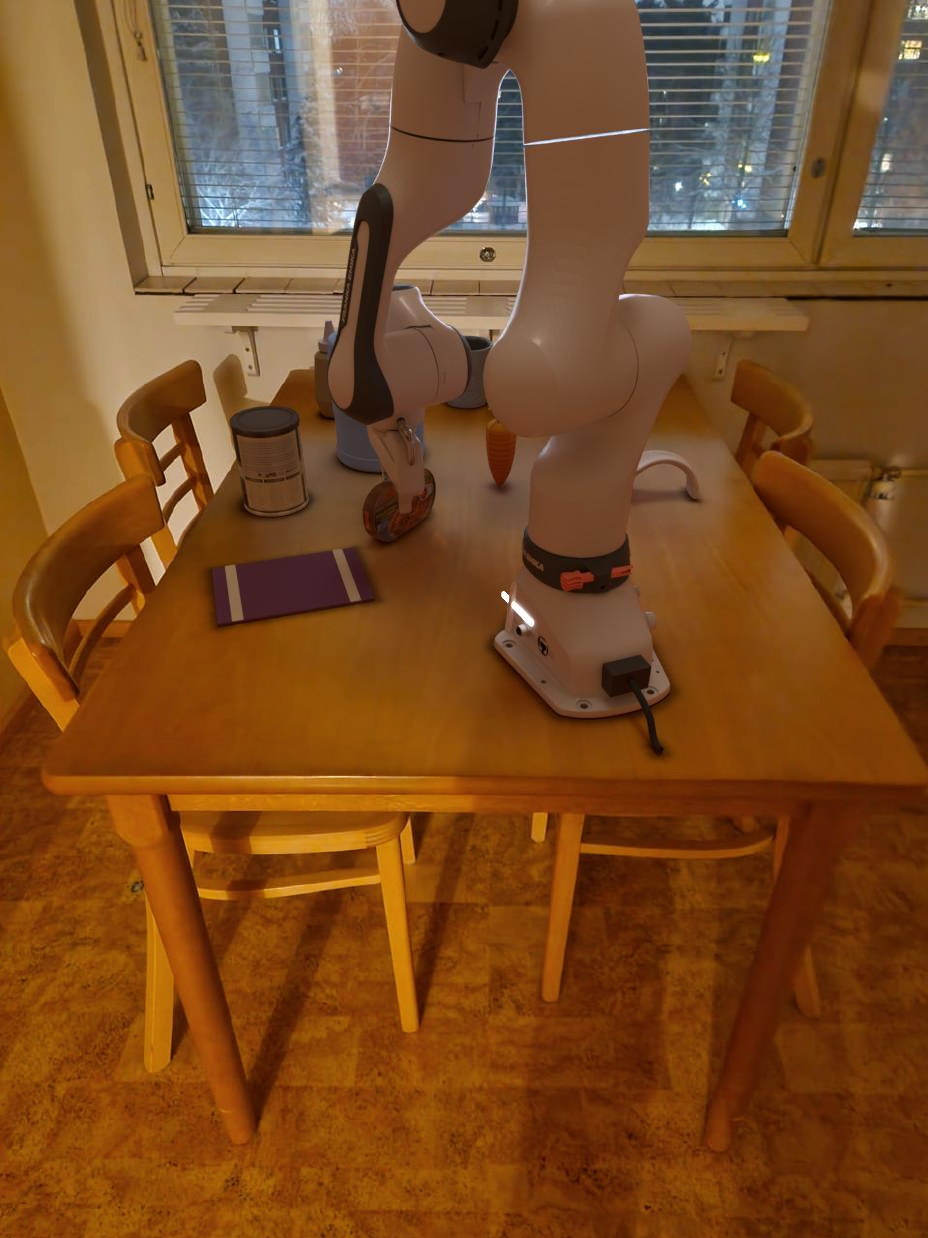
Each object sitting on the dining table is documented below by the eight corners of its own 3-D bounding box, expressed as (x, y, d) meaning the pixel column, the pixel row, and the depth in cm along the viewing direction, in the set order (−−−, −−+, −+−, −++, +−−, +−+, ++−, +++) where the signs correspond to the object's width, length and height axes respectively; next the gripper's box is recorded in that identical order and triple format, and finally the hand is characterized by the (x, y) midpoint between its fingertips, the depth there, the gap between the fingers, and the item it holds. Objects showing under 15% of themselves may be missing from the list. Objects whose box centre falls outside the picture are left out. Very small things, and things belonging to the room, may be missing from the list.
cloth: (374, 600, 106) (374, 597, 106) (218, 626, 101) (217, 623, 101) (354, 549, 117) (354, 546, 117) (212, 570, 112) (211, 567, 112)
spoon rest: (555, 513, 126) (558, 471, 122) (545, 481, 136) (547, 440, 132) (704, 510, 127) (712, 468, 123) (684, 478, 137) (691, 438, 133)
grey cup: (461, 389, 173) (462, 332, 166) (501, 399, 168) (503, 340, 161) (433, 403, 166) (431, 344, 159) (473, 413, 161) (473, 353, 154)
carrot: (512, 494, 132) (515, 405, 123) (482, 491, 132) (483, 402, 124) (516, 481, 136) (520, 394, 127) (487, 478, 136) (489, 391, 128)
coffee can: (231, 502, 129) (215, 417, 121) (285, 482, 135) (274, 400, 127) (267, 523, 123) (253, 436, 115) (322, 502, 129) (313, 417, 121)
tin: (377, 551, 116) (374, 498, 112) (361, 545, 118) (356, 492, 113) (438, 511, 127) (437, 461, 122) (422, 506, 128) (420, 456, 123)
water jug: (371, 482, 135) (359, 308, 119) (320, 454, 145) (302, 289, 129) (443, 457, 144) (440, 291, 128) (390, 432, 153) (381, 275, 137)
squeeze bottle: (365, 411, 162) (359, 318, 152) (339, 423, 157) (331, 328, 146) (334, 403, 166) (325, 312, 156) (307, 415, 160) (297, 322, 150)
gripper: (435, 432, 104) (436, 526, 113) (398, 380, 120) (400, 465, 128) (388, 438, 103) (392, 532, 111) (356, 384, 119) (361, 470, 127)
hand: (396, 496), depth 120 cm, fingers open, 8 cm apart
